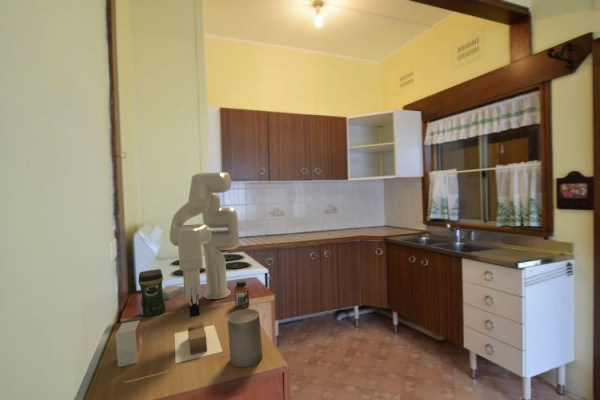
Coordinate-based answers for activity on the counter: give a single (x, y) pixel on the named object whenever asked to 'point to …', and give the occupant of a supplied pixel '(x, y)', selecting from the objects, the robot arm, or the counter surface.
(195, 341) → the walnut block
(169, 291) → the stone block
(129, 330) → the small box
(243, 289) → the supplement bottle
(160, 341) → the counter surface
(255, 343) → the pillar candle
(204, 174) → the robot arm
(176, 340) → the cream mat
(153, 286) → the coffee jar
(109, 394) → the counter surface
